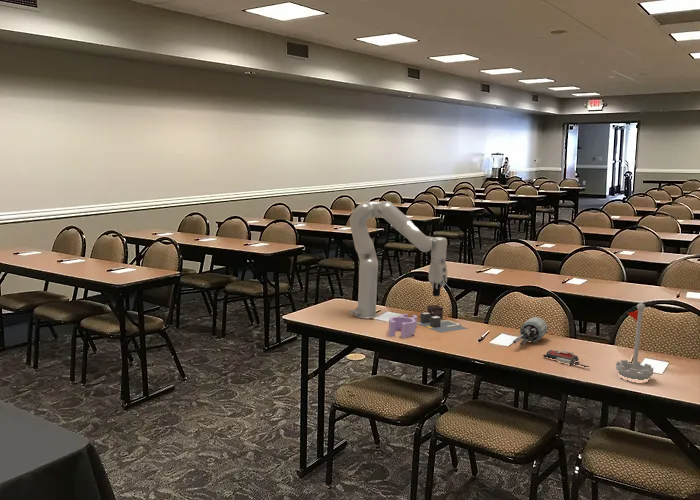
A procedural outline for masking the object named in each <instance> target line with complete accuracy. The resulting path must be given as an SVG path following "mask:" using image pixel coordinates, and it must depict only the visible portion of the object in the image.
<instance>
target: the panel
mask: <svg viewBox="0 0 700 500" xmlns="http://www.w3.org/2000/svg"><path fill="white" fill-rule="evenodd" d="M417 325H419V326H421V327H424V328H426V329H429V330H432V331H434V332H437V333H448V332H449V333H450V332H455V331H461V330H469V328H468V327H465V326H462V324H460V323H457V322H455V321H452V320H449V319H446V320H444V319H443V318H442V319H441V323H440V327H432V326H430V322H428V323H423V322H420V321H417Z"/></svg>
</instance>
